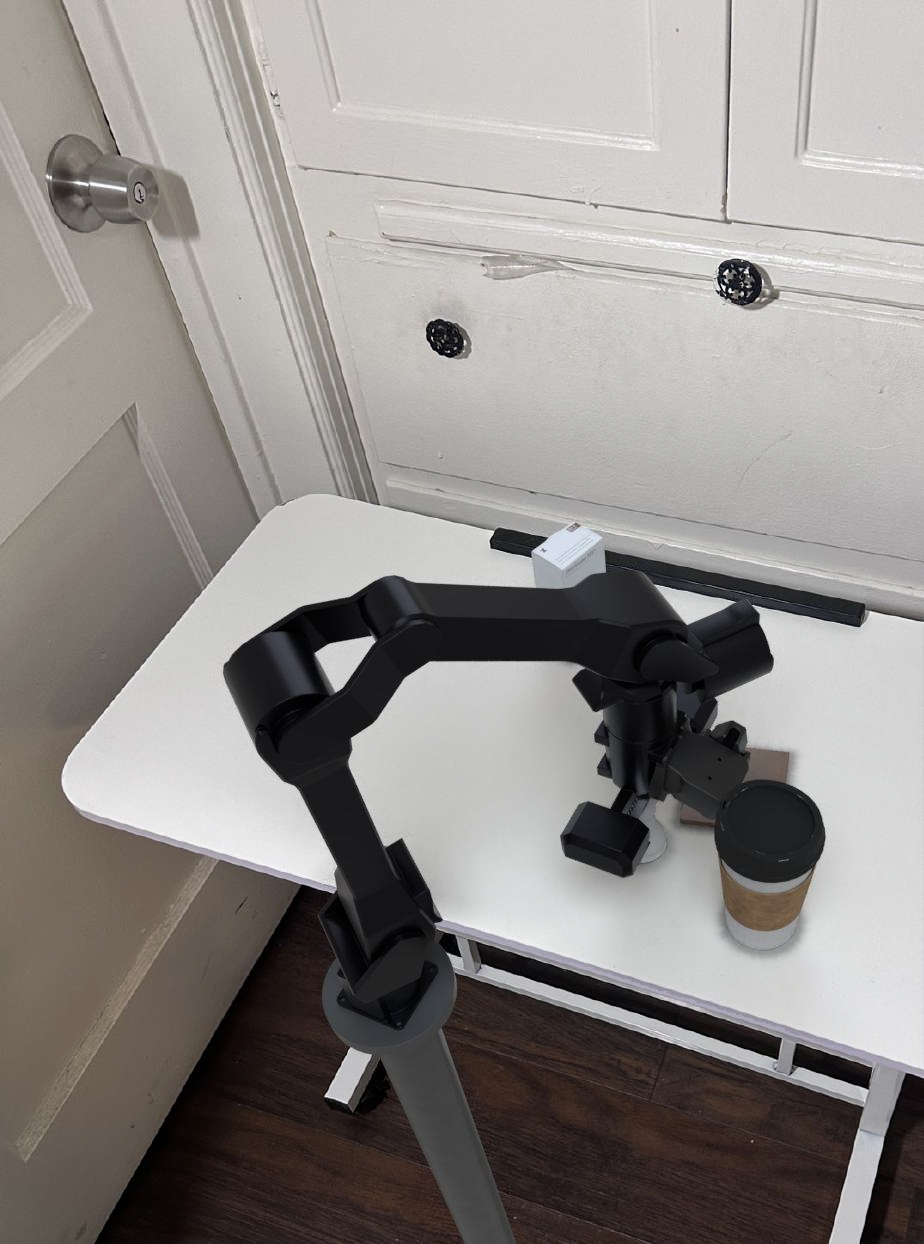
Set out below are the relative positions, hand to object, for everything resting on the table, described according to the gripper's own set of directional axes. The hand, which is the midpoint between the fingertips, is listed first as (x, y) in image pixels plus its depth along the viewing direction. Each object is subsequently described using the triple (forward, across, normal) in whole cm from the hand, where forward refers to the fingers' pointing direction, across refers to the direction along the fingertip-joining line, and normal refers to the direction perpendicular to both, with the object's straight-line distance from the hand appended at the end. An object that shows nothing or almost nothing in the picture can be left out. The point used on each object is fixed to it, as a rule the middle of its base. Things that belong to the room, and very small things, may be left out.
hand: (644, 830), depth 107 cm
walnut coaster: (+2, +9, -5) cm, 11 cm away
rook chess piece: (+3, 0, 0) cm, 3 cm away
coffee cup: (+2, -3, -12) cm, 13 cm away
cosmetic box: (+3, +21, +17) cm, 27 cm away
